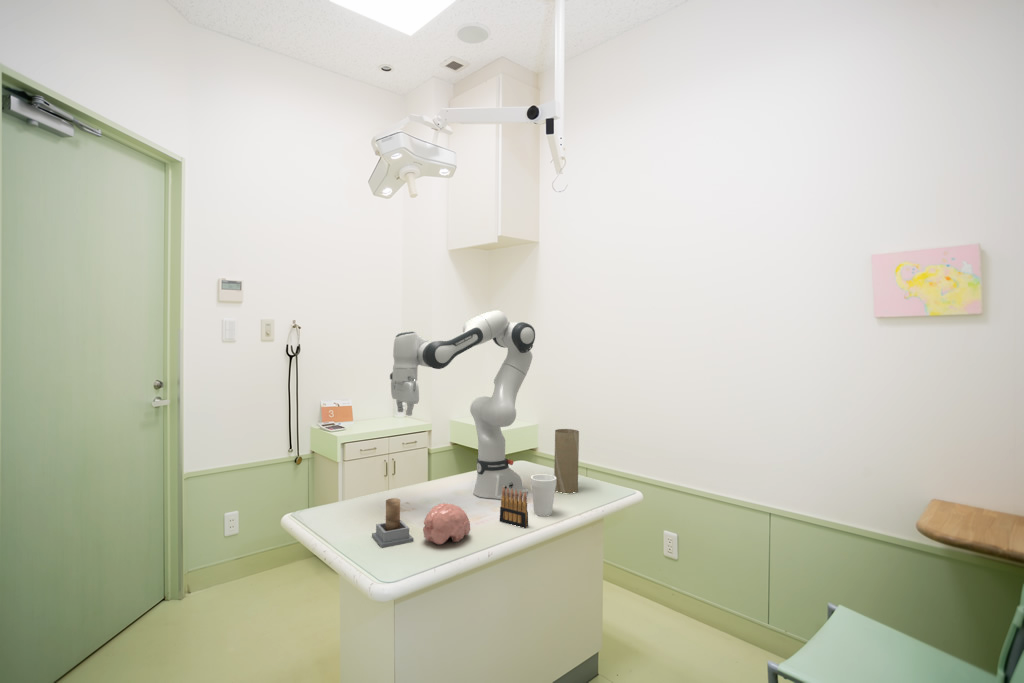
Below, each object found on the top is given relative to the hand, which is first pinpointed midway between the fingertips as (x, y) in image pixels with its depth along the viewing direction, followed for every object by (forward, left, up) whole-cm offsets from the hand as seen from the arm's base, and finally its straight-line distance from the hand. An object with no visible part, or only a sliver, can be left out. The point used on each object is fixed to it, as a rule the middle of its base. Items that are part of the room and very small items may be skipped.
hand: (404, 413), depth 184 cm
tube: (-68, +9, -35) cm, 77 cm away
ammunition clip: (-28, +32, -35) cm, 55 cm away
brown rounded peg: (+12, +25, -34) cm, 44 cm away
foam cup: (-43, +28, -35) cm, 62 cm away
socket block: (+12, +25, -35) cm, 45 cm away
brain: (-3, +34, -35) cm, 49 cm away
